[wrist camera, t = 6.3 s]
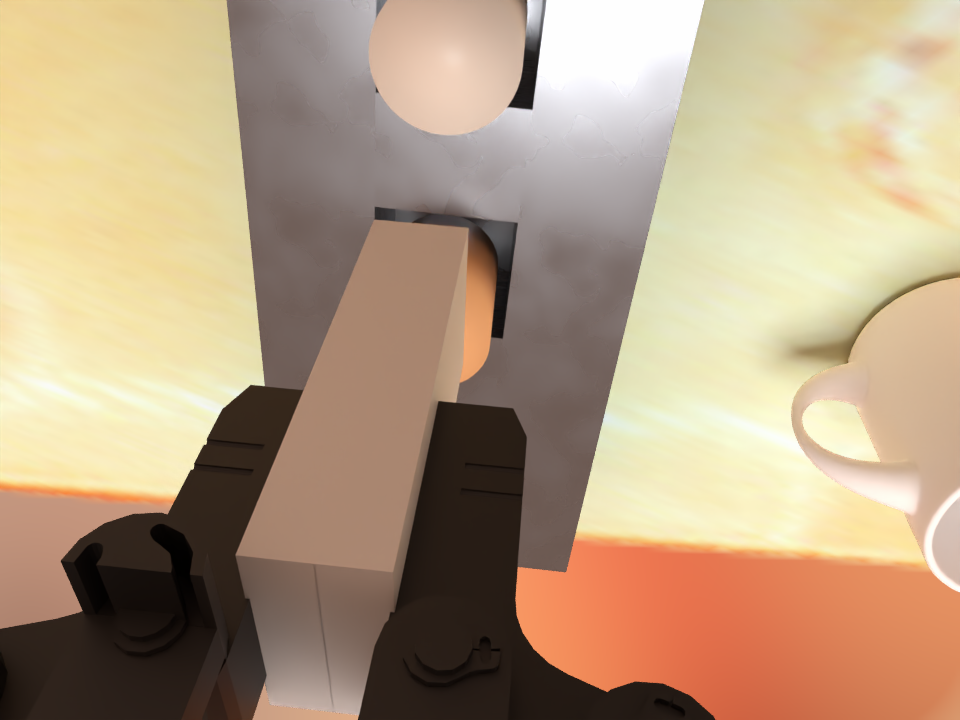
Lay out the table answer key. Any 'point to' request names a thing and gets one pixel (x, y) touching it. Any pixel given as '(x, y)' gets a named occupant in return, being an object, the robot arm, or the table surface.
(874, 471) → the mug
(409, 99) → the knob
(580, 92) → the panel
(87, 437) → the table surface
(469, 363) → the knob mid
